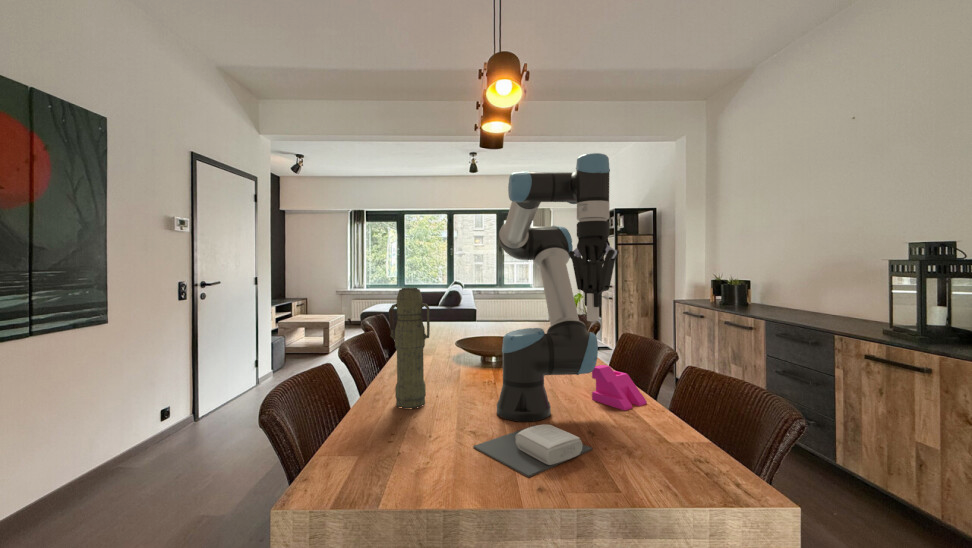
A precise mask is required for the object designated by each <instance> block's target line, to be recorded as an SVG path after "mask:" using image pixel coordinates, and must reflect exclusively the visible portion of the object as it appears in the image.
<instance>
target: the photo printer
mask: <svg viewBox="0 0 972 548" xmlns="http://www.w3.org/2000/svg"><path fill="white" fill-rule="evenodd" d="M532 426H533V427H531V426H529V427H530V428H528V427H526V428H527V429H525V428H523V429H524V430H522V429H521V430H522V431H520V432H519V433H518V434H517V435H516V436H515V438H516V441H515V442H516V445H517V447H518V448H519V449H520V450H522V451H523V452H525V453H527V454H529V455H531V456H532V457H534V458H536V459H538V460H540V461H541V462H543V463H545V464H547V465H552V464H556V463H559V462H562V461H565V460H567V461H569V460H568V459H570V458H572V459H574V458H576V457H578V456H577V455H579V454H580V452H581V451H582V444H583V442H582V440H581V437H579V436H577V435H575V434H572V433H571V432H568V431H566V430H563V429H561V428H558V427H556V426H554V425H552V424H538V425H536V426H534V425H532ZM575 456H576V457H575ZM579 456H580V455H579ZM573 457H574V458H573ZM570 460H571V459H570ZM565 462H566V461H565Z"/></svg>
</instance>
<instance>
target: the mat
mask: <svg viewBox="0 0 972 548" xmlns="http://www.w3.org/2000/svg"><path fill="white" fill-rule="evenodd" d="M533 426H537V425H536V424H535V425H531V426H528V427H525V428H522V429H519V430H517V431H513V432H510V433H507V434H504V435H502V436H498V437H496V438H492V439H490V440H487V441H484V442H481V443H478V444H475V445H472V448H473V447H474V448H473V449H475V448H476V449H475V450H477V451H479V452H480V451H481V454H482V453H483V454H484V455H486V456H488V457H490V458H492V459H494V461H495V460H496V461H497V462H499V463H500V464H503V465H505V466H506V467H508V468H509V469H512V470H514V471H516V472H518V473H520V474H521V475H523V476H525V477H527V478H530V477H533V476H535V475H537V474H539V473H543V472H544V471H547V470H550V469H551V468H554V467H556V466H558V465H561V464H562V463H565V462H567V461H569V460H571V459H574V458H577V457H579V456H580V455H583V454H585V453H587V452H590V451H593V447H591V446H589V445H586V444H584V443H582V451H581V452H580V454H579V455H577V456H575V457H573V458H570V459H568V460H565V461H562V462H559V463H556V464H552V465H547V464H545V463H543V462H541V461H540V460H538V459H536V458H534V457H532V456H531V455H529V454H527V453H525V452H523V451H522V450H520V449H519V448H518V447H517V445H516V442H515V441H516V438H515V436H516V435H517V434H518V433H519V432H520V431H522V430H524V429H527V428H530V427H533Z"/></svg>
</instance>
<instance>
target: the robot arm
mask: <svg viewBox="0 0 972 548" xmlns="http://www.w3.org/2000/svg"><path fill="white" fill-rule="evenodd" d="M575 170H576V171H575V172H566V171H565V172H564V171H562V172H561V171H559V172H555V171H554V172H550V171H548V172H546V171H541V172H540V171H526V170H525V171H517V172H512V173H511V174H510V175H509V178H508V186H507V187H508V188H507V192H508V199H509V200H510V201H511V204H510V207H509V210H508V214H507V217H506V219H505V223H503V224H502V226H501V227H500V228H499V233H498V241H499V242H498V243H499V245H500V248H501V249H502V250H503V251H504V252H505V253H506V254H507V255H508V256H510V257H512V258H514V259H517V260H520V261H521V260H522V261H534V264H535V267H536V268H538V269H539V270H540V274H541V275H540V276H541V279H542V284H543V285H542V286H543V289H544V295H545V302H546V308H547V313H548V318H549V324H550V325H549V327H548V328H547V329H546V333H545V330H544V329H543V328H539V327H533V328H532V327H527V328H520V329H515V330H512V331H509V332H507V333H505V335H504V336H503V338H502V348H501V353H502V387H501V391H500V395H499V399H498V401H497V402H496V414H497V415H498V417H500V418H503V419H506V420H508V421H514V422H521V423H523V422H537V421H542V420H545V419H547V418H548V417H550V415H551V409H552V408H551V404H550V401H549V399H548V394H547V391H546V387H545V376H566V375H567V376H570V375H575V376H579V375H585V374H592V371H593V370H594V368H595V366H597V361H598V356H599V353H598V352H599V343H598V338H597V335H596V334H595V333H594V332H592V331H589V332H588V330H587V326H586V324H585V323H584V322H583V321H581V320H580V318H579V315H578V310H577V306H576V301H575V296H574V292H573V288H572V284H571V279H570V274H569V271H568V266H567V264H568V262H569V260H570V259H571V262H572V267H573V272H574V278H575V282H576V287H577V290H578V291H581V292H582V291H583V294H584V306H585V307H586V321H587V322H597V321H600V308H602V302H603V301H602V295H603V293H604V292H606V291H609V290H610V287H611V284H612V283H611V281H612V277H613V272H614V269H615V268H614V267H615V262H616V259H617V258H618V255H619V254H620V251H619V250H618V249H614V248H613V247H612V246H611V244H610V241H609V237H610V222H609V219H610V216H611V215H610V172H611V168H610V158H609V157H608V155H607V154H605V153H600V152H593V153H585V154H581V155H580V156H578V157H577V159H576V167H575ZM541 203H568V204H571V205H576V220H577V221H578V222H577V223H576V237H577V239H578V241H577V244H576V248H575V249H573V247H574V246H573V239H572V236H571V233H570V230H569V229H568V228H567V227H564V226H559V225H558V226H557V225H551V226H548V225H547V226H546V225H545V226H543V225H542V226H538V225H537V226H532V223H533V221H534V218H535V216H536V214H537V212H538V209H539V207H540V204H541Z"/></svg>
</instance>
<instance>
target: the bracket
mask: <svg viewBox="0 0 972 548" xmlns="http://www.w3.org/2000/svg"><path fill="white" fill-rule="evenodd" d="M591 378H592V379H595V390H593V391H592V392H591V400H592V401H594V402H597V403H600V404H603V405H607V406H610V407H613V408H616V409H619V410H622V411H628V410H631V409H633V405H634V406H638V407H640V406H645V405H647V403H648V402H647V399H646V398H645V396H644V395H643V394H642V392H640V390H639V388H638V387H637V385H636V384H635V383H634V381H633V380H632V378H631V377H630V375H629V374H628V373H626V372H622V371H617V370H613V369H612V367H611V366H610V365H605V364H601V365H600V364H599V365H596V366H595V368H594V370H593V371H592V372H591Z"/></svg>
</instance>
